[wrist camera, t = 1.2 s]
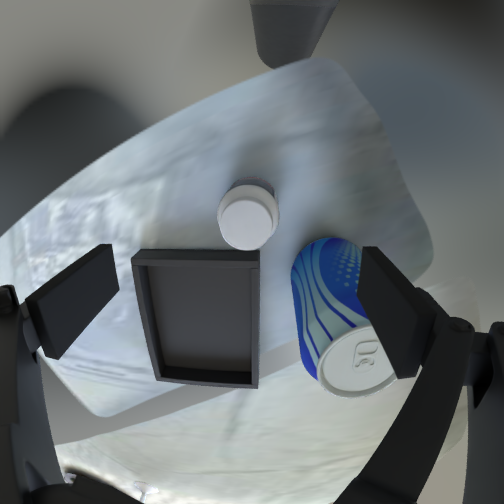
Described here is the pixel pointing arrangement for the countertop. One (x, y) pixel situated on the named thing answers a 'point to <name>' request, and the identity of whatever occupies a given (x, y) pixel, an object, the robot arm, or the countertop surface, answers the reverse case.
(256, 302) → the tray
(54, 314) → the robot arm
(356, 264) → the beer can
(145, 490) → the champagne flute
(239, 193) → the pill bottle
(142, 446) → the countertop surface
